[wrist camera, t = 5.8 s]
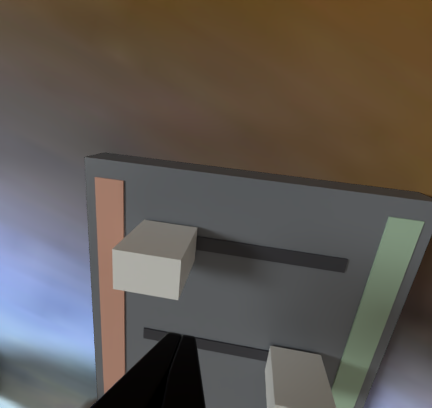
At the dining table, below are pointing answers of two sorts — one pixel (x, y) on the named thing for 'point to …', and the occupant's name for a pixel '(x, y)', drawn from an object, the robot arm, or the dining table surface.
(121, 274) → the breaker
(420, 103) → the dining table surface
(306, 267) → the switch panel
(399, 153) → the dining table surface
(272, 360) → the breaker middle
